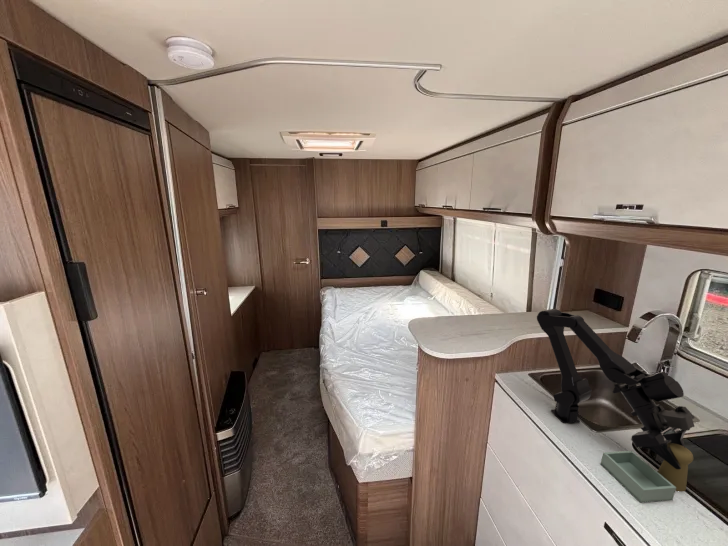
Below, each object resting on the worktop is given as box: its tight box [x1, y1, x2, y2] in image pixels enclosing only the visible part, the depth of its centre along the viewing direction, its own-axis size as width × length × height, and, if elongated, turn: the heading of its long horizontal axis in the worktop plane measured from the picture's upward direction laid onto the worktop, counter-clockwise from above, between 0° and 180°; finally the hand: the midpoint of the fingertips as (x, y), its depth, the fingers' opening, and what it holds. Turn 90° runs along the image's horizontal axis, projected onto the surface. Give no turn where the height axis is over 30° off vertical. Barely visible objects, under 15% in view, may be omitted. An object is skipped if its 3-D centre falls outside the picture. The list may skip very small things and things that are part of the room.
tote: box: [600, 450, 676, 504], centre depth 85 cm, size 12×9×4 cm
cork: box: [656, 443, 694, 493], centre depth 84 cm, size 6×6×11 cm
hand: (683, 465), depth 82 cm, fingers closed on cork, 5 cm apart
